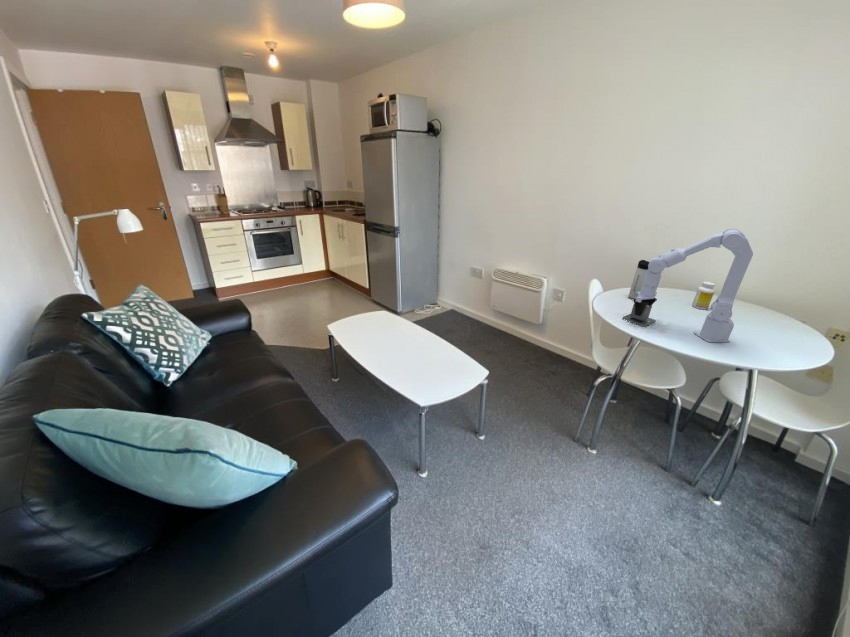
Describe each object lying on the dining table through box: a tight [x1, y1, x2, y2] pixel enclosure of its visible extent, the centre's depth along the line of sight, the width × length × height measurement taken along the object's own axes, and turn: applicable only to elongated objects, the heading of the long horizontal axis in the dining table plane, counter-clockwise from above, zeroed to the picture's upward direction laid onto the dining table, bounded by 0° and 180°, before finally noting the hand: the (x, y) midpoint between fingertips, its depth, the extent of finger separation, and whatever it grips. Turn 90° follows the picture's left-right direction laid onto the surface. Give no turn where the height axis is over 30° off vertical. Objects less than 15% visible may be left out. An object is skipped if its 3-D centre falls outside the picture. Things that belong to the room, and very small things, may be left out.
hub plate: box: [622, 313, 657, 328], centre depth 159 cm, size 10×10×4 cm
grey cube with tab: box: [630, 303, 653, 321], centre depth 158 cm, size 5×5×6 cm
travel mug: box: [627, 259, 650, 301], centre depth 182 cm, size 6×7×20 cm
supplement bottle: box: [691, 281, 716, 310], centre depth 175 cm, size 7×7×13 cm
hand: (640, 313), depth 159 cm, fingers closed on grey cube with tab, 5 cm apart
